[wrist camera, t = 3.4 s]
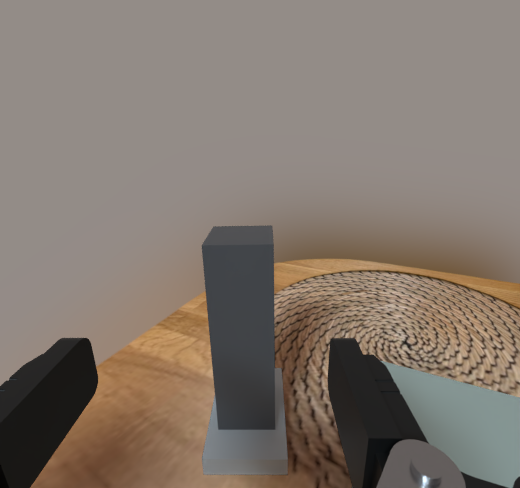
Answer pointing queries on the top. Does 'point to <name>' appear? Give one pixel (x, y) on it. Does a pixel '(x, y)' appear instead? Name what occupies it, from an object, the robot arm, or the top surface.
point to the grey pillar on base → (243, 355)
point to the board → (465, 423)
